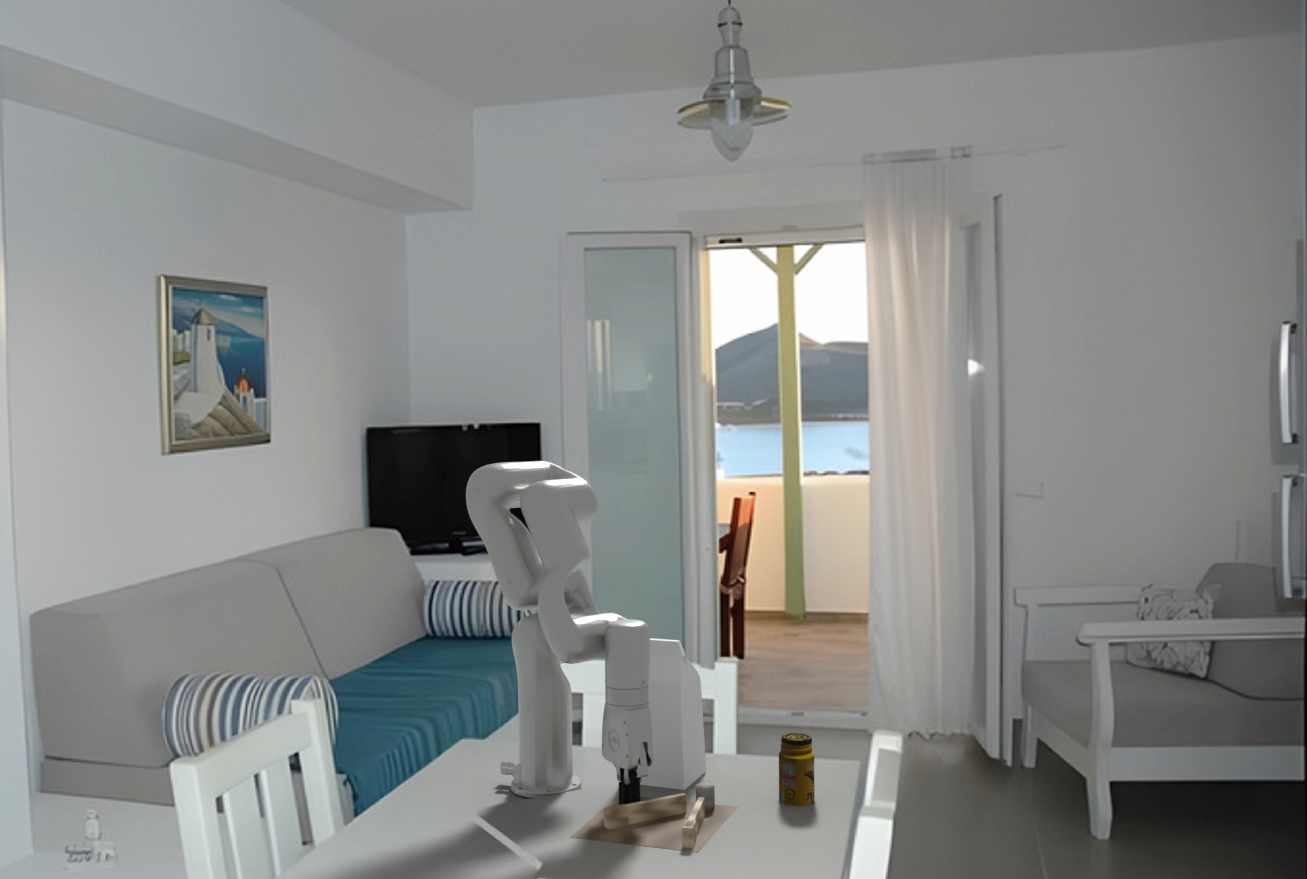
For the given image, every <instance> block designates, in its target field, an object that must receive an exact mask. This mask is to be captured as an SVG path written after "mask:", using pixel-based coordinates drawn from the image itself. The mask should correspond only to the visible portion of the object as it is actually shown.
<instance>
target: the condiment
mask: <svg viewBox="0 0 1307 879" xmlns="http://www.w3.org/2000/svg"><path fill="white" fill-rule="evenodd" d="M780 742H781V743H780V750H779V753H778V802H780V803H781V804H784V805H787V806H794V807H795V806H796V807H797V806H799V807H800V806H802V807H803V806H809V805H812V804H813V803H814V802H815V753H814V751H813V738H812V736H810V735H808V734H806V733H801V732H788V733H785V734H782V736H781V738H780Z"/></svg>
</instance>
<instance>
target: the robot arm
mask: <svg viewBox="0 0 1307 879" xmlns="http://www.w3.org/2000/svg"><path fill="white" fill-rule="evenodd" d="M465 501H466V502H465V503H466V507H467V508H466V509H467V512H468V513H467V514H468V515H469V518H470V520H471V523H472V525H473V526H474V528H475V530H476V532H477V533H478V535H479V537H480V538H481V540H482V541H481V542H483V544H484V547H485V549H486V551H487V553H488V557H489V560H490V563H491V565H492V568H493V571H494V574H495V576H496V579H497V582H498V585H499V587H500V590H501V593H502V596H503V598H504V600H505V602H506V604H507V605H508V607H510V608H511V609H513V610H515V611H530V610H537V612H536V613H535V612H534V613H532V614H531V613H530V614H529V615H526V616H524V617H523V618H521V619H520V620H519V621H518V622H516V624H515V625H514V628H512V633H511V647H512V653H513V657H514V661H515V667H516V668H515V669H516V676H517V697H518V698H517V700H518V701H517V704H518V760H517V762H516V761H515V762H514V761H512V760H501V762H500V774H501V775H507V776H508V775H509V776H512V777H513V780H512V781H511V783H510V790H511V792H512V793H514V794H515V795H517V796H520V797H522V798H528V799H536V798H541V797H546V796H553V795H557V794H563V793H569V792H573V791H578V790H581V789H582V780H581V778H580V777H579V776H577V775H575V774H573V773H574V772H573V768H574V767H573V766H574V765H573V758H574V757H573V700H572V698H573V697H572V696H573V695H572V694H573V693H572V688H571V684H570V681H569V679H568V678H567V676H566V674H565V672H564V671H563V669H562V666H561V665H563V664H567V665H568V664H569V665H573V664H574V665H575V664H581V663H584V662H585V663H586V662H591V661H596V660H602V659H604V678H605V680H604V683H605V684H604V688H605V689H604V692H605V698H604V699H605V702H604V707H603V713H602V714H603V716H602V724H601V725H602V726H601V755H602V757H603V758H604V759H605V761H607V762H610V764H612V765H613V766H614V768H615V771H616V772H615V773H616V780H617V781H618V796H619V805H622V804H624V805H625V804H630V803H635V802H640V797H641V785H640V782H641V781H642V777H646V776H648V767H647V766H651V765H652V763H653V731H652V720H651V713H650V707H649V705H651V684H650V683H651V682H650V638H651V631H650V627H649V625H648V623H646V622H645V621H643V620H641V619H640V620H639V619H630V618H629V619H628V618H626V617H624V616H623V615H620V614H617V613H615V612H603V613H600V611H599V609H598V605H597V604H596V601H595V599H594V598H595V597H594V596H593V594H592V591H591V590H592V589H591V588H590V585H589V583H588V580H587V578H586V575H585V573H584V571H583V567H584V566H585V565H587V564H588V562H589V561H590V559H591V550H590V548H589V546H588V544H587V541H586V539H585V536H584V534H583V531H582V530H581V527H580V525H583V524H588V523H589V522H591V521H593V519H594V518H595V516H596V514H597V511H598V507H599V506H598V499H597V494H596V492H595V490H594V488H593V487H592V486H591V484H590V483H589V482H588V481H587V480H585V478H583V477H582V476H579V475H578V474H576V473H573V472H572V471H569V470H567V469H565V468H564V467H561V466H559V465H557V464H555V463H552V462H550V461H546V460H545V461H543V460H533V461H532V460H531V461H530V460H529V461H507V462H505V461H503V462H496V463H491V464H486V465H483V466H481V467H479V468H476V470H474V471H473V473H471V475H470V476H469V479H468V481H467V485H466V490H465ZM517 508H520V509H521V513H522V515H523V518H524V521H525V524H526V525H525V524H524V523H523V522H522V521H521V520H520V519H519V518H518V517H517V516H515V515H514V514H513V513H511V510H510V509H517ZM526 526H527V527H526Z"/></svg>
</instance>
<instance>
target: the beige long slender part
mask: <svg viewBox="0 0 1307 879" xmlns="http://www.w3.org/2000/svg"><path fill="white" fill-rule="evenodd" d="M715 788H716V786H715V785H714V784H712V783H706V782H704V783H703V782H702V783H698V784H696V785H695V802H696V804H695V806H694V808H693V810H692V812H691V814H690V817H689V819H688V820H686V821H685V823H684V825H683V827H682V847H688V848H693V846H694V844H695V841H696V835H697V832H698V830H699V828H700V825H701V823H702V821H703V818H704V816H705V811H708V810H713V809H714V808H715V805H716V804H715V800H716V799H715V792H716V790H715Z"/></svg>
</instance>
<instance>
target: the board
mask: <svg viewBox="0 0 1307 879" xmlns="http://www.w3.org/2000/svg"><path fill="white" fill-rule="evenodd" d="M655 798H656V797H655ZM655 798H654V797H646V796H640V801H645V800H650V799H655ZM695 804H696V801H694V802H693V801H687V800H686V812H687V813H682V814H677V815H672V816H668V817H663V818H658V819H653V820H648V821H644V822H639V823H634V824H629V825H628V826H623V827H618V828H613V829H607V828H605V827H604V808H607V807H612V806H617V805H619V795H618V796H617V797H615V798H614V799H613V800H612V801H611V802H609V803H608V804H607V805H606V806H605V807H604V808H603V809H601V810H600V811H599V812H598V813H597V814H595V815H594V816H593V817H592V818H590V819H589V820H588V821H587V822H585V824H583V825H582V826H581V827H579V829H578V830H576V831H575V832H574V833H572V835H570V836H569V838H571V839H581V840H589V841H596V842H597V841H598V842H607V843H615V844H620V845H621V844H622V845H630V846H640V847H647V848H657V849H665V850H672V851H673V850H674V851H681V852H690V853H697V854H698V853H699V851H701V850H702V848H703V847H704V846H705V845H706V844H707V842H709V840H710V839H711V838H712V837H713V835H714V834H716V832H717V831H718V830H719V829H720V827H722V826H723V825H724V823H725V822H726V821H727V819H728V818H730V816H731V815H732V814H733V813H734V812H735V810H736V809H737V808H738V806H735V805H734V806H731V805H725V804H715V808H714V809H713V810H708V811H705V816H704V818H703V821H702V823H701V825H700V828H699V830H698V832H697V835H696V841H695V844H694V846H693V848H688V847H682V827H683V825H684V823H685V821H686V820H688V819H689V817H690V814H691V812H692V810H693V808H694V806H695Z"/></svg>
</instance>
